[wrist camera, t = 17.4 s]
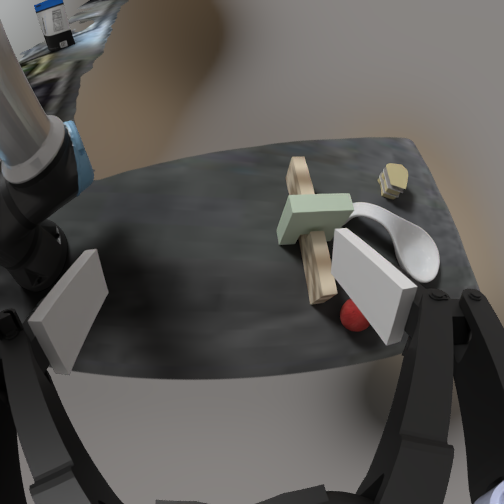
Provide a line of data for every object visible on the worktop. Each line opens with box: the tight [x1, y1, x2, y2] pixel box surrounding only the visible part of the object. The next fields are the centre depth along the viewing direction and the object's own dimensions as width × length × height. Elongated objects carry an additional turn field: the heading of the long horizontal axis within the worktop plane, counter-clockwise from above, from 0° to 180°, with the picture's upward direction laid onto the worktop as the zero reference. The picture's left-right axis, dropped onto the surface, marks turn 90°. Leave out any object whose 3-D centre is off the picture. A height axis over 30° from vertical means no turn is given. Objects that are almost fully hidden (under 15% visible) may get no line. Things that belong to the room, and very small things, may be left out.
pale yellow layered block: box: [378, 163, 408, 200], centre depth 57 cm, size 10×9×6 cm
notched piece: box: [277, 194, 354, 245], centre depth 47 cm, size 10×3×12 cm, turn 97°
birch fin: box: [286, 157, 338, 305], centre depth 49 cm, size 26×2×7 cm, turn 7°
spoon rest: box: [343, 202, 440, 283], centre depth 50 cm, size 24×12×7 cm, turn 61°
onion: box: [340, 299, 370, 332], centre depth 43 cm, size 6×6×8 cm
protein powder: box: [34, 0, 75, 51], centre depth 68 cm, size 10×24×30 cm, turn 69°
